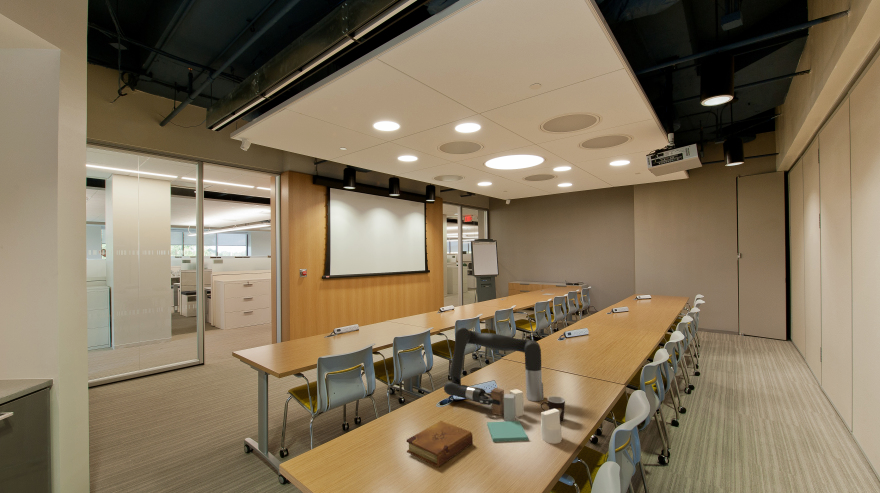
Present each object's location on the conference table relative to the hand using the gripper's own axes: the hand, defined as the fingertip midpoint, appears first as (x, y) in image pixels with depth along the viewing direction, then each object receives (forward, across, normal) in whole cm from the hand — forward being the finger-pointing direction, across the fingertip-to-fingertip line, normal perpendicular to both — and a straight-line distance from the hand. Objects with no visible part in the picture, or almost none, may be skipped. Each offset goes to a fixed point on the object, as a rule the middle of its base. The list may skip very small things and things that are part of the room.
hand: (502, 401), depth 186 cm
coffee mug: (+24, +10, +7) cm, 27 cm away
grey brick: (+6, -4, +7) cm, 10 cm away
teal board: (+11, -17, +7) cm, 21 cm away
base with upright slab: (+30, -10, +7) cm, 33 cm away
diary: (-6, -46, +7) cm, 47 cm away
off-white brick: (+6, +4, +7) cm, 10 cm away
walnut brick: (-3, 0, +7) cm, 7 cm away
